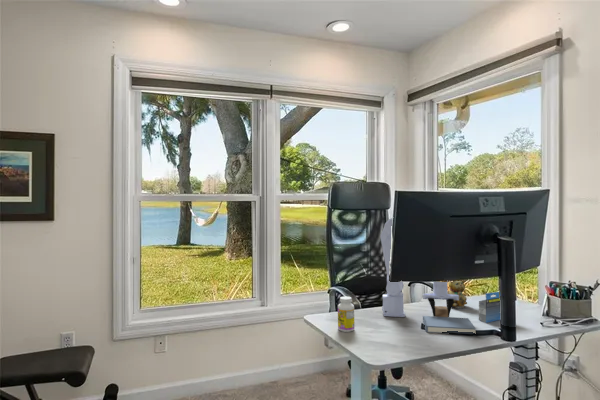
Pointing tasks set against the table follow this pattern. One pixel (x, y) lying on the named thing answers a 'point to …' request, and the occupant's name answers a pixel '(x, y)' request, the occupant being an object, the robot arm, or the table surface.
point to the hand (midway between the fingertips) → (440, 316)
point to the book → (447, 324)
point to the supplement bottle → (346, 314)
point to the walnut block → (441, 311)
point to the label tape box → (489, 308)
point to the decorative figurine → (458, 293)
